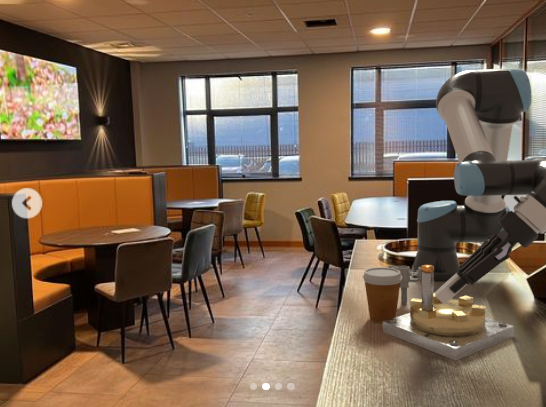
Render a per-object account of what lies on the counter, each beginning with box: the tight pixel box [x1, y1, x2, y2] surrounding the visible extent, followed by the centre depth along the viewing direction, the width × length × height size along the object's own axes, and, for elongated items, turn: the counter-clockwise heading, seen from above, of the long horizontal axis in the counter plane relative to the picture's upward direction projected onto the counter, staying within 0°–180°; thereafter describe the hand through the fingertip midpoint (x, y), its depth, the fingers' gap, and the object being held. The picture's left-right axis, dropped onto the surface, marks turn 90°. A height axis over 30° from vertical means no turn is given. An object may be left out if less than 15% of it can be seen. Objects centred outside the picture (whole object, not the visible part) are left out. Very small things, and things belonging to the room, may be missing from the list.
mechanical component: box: [384, 265, 422, 305], centre depth 140 cm, size 3×10×10 cm, turn 79°
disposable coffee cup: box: [362, 266, 402, 324], centre depth 128 cm, size 10×10×12 cm
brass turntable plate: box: [409, 265, 486, 336], centre depth 117 cm, size 16×16×14 cm
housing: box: [382, 312, 515, 362], centre depth 118 cm, size 20×20×3 cm
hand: (439, 298), depth 112 cm, fingers closed
